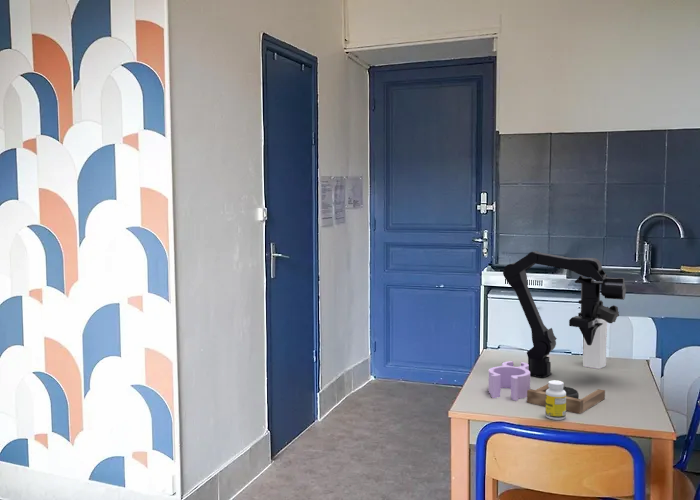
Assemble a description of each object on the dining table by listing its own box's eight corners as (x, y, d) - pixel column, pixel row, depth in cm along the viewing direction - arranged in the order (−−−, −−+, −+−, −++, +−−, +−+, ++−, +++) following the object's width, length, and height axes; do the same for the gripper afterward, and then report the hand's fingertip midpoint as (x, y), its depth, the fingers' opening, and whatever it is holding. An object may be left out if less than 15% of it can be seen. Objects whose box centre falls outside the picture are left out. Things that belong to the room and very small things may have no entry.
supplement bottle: (542, 414, 187) (542, 379, 186) (561, 413, 188) (561, 379, 187) (549, 420, 182) (550, 385, 181) (569, 420, 182) (569, 384, 181)
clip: (498, 380, 222) (498, 359, 221) (536, 384, 216) (537, 363, 216) (483, 397, 204) (483, 374, 203) (524, 402, 198) (525, 379, 198)
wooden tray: (527, 402, 198) (527, 390, 198) (553, 388, 211) (554, 377, 211) (580, 413, 187) (580, 401, 187) (604, 398, 201) (605, 387, 200)
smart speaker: (579, 408, 192) (580, 395, 192) (547, 406, 194) (547, 393, 194) (577, 399, 201) (577, 386, 200) (546, 397, 203) (546, 384, 202)
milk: (599, 369, 234) (600, 306, 232) (582, 366, 238) (583, 304, 236) (606, 365, 238) (607, 304, 236) (589, 363, 242) (590, 302, 240)
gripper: (604, 303, 204) (602, 354, 206) (626, 296, 218) (625, 343, 220) (568, 300, 212) (567, 348, 213) (592, 293, 226) (591, 339, 227)
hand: (589, 345), depth 218 cm, fingers closed
